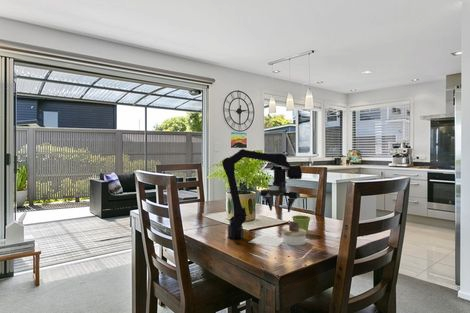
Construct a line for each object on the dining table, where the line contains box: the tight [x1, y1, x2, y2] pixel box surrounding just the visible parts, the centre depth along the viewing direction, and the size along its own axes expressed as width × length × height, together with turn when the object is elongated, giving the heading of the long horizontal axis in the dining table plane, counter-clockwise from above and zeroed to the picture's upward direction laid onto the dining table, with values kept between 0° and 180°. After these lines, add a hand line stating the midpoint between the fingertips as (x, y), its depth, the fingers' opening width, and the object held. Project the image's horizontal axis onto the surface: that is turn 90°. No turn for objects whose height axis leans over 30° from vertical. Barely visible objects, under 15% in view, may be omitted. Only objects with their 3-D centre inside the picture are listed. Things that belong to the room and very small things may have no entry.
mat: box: [248, 234, 284, 248], centre depth 142 cm, size 14×14×1 cm
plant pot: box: [291, 214, 312, 235], centre depth 155 cm, size 9×9×9 cm
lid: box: [281, 220, 307, 237], centre depth 139 cm, size 11×11×5 cm
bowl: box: [282, 234, 307, 246], centre depth 140 cm, size 10×10×4 cm
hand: (279, 211), depth 148 cm, fingers open, 9 cm apart
